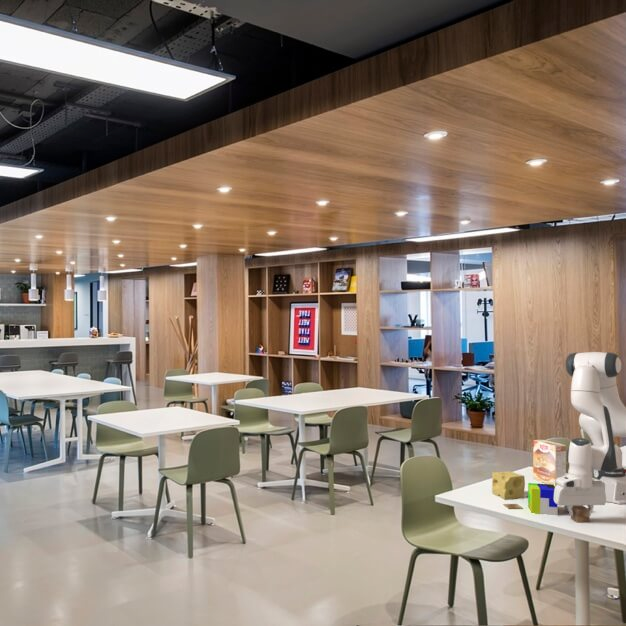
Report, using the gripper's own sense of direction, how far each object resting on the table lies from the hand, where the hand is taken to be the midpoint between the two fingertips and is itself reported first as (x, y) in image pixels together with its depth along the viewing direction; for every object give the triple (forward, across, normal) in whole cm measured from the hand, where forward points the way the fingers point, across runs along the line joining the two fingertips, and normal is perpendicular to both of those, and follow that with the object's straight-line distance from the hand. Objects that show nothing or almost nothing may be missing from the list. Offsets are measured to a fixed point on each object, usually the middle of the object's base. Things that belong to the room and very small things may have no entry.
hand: (579, 516), depth 246 cm
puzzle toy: (+2, +9, -13) cm, 16 cm away
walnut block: (+2, 0, 0) cm, 2 cm away
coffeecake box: (+2, -17, -59) cm, 61 cm away
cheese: (+2, +14, -36) cm, 39 cm away
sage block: (+2, -4, -12) cm, 13 cm away
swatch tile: (+2, +19, -19) cm, 27 cm away
